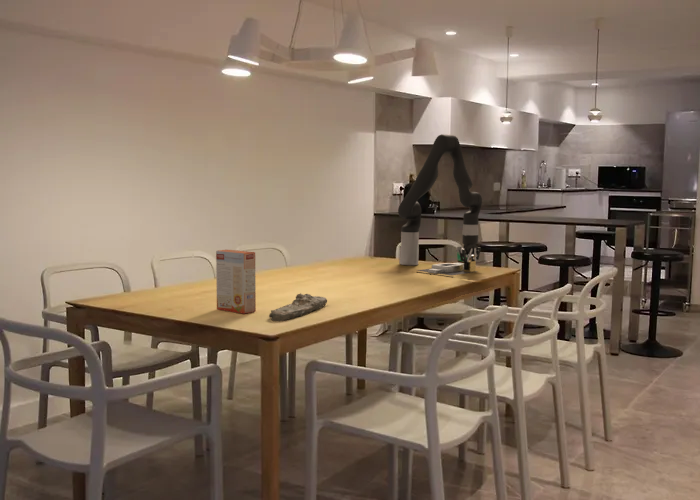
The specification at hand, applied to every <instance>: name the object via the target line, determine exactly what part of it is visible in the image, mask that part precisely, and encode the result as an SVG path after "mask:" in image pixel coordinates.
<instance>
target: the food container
mask: <svg viewBox="0 0 700 500" xmlns="http://www.w3.org/2000/svg"><path fill="white" fill-rule="evenodd" d="M459 249H463V247H462V246H456V248H455V252H456V257H457V259H456V260H457V263H464V262H463V261H461V258H460V252H459ZM467 256H468V255H467ZM463 258H464V257H463ZM466 259H467V257H466ZM469 261H471V258H469Z"/></svg>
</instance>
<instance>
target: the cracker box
mask: <svg viewBox="0 0 700 500" xmlns="http://www.w3.org/2000/svg"><path fill="white" fill-rule="evenodd" d="M215 253H216V254H215V255H216V256H215V263H216V269H215V270H216V271H215V272H216V310H219V311H225V312H232V313H236V314H241V315H245V314H250V313H251V314H252V313H255V312H256V309H257V308H256V300H257V299H256V297H257V296H256V294H257V293H256V288H257V286H256V252H255V251H247V250H246V251H245V250H236V249H219V250H216V252H215Z"/></svg>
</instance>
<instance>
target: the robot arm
mask: <svg viewBox="0 0 700 500" xmlns="http://www.w3.org/2000/svg"><path fill="white" fill-rule="evenodd" d="M445 154H447V155H449V156H450V157H451V159H452V163H453V169H452V170H453V171H452V174H453V175H452V176H453V179H454V182H455V183H456V186H457V189H458V194H459V195H458V196H459V202H460V204H461V205H462V206H463V207H465V208H469V209H468V211H466V212H464V214H463V216H462V217H463V220H462V221H463V224H462V225H463V226H462V235H461V236H462V238H461V239H462V240H461V242H462V244H463V247H462V248H463V249H459V252H460V258H461V261H463V262H464V270H469V258H471V261H476V262H477V261H478V260H479V258H480V254H481V251H482V250H481V247H478V246H477V245H478V244H479V215H480V212H481V208H482V205H483V198H482V195H481V193H480V192H476V191H470V189H471V188H472V187H473V181H472V179H471V177H470V174H469V173H468V170H467V167H466V163H465V160H464V156H463V152H462V147H461V144H460V140H459V138H458V137H457V136H456V135H455V134H445V133H443V134H439V135H437V137H435V140H434V142H433V144H432V147H431V148H430V151H429V154H428V155H427V158H426V159H425V162H424V164H423V165H422V168H421V169H420V171H419V172H418V174H417V176H416V178H415V180H414V182H413V184H412V185H411V187H410V189H409V190H408V192H407V193H406V195H405V197H403V199H402V200H401V202H400V203H399V205H398V209H397V214H398V217H399V218H401V219H403V220H407V222H406V223H405V224H403V225H402V226H401V227H400V231H401V232H400V237H401V238H400V245H399V257H398V258H399V265H403V266H417V265H419V249H420V247H419V245H420V244H419V242H420V227H421V223H422V222H421V221H422V207H421V204H420V203H419V200H420V198H422V197H423V196H425V194H426V193H428V192H429V191H430V190H431V189H432V187H433V186H434V184H435V183H436V181H437V179H438V176H439V163H440V161H441V159H442V157H443V155H445ZM467 255H468V256H467ZM463 257H464V258H463ZM466 257H467V259H466Z"/></svg>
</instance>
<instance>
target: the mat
mask: <svg viewBox="0 0 700 500" xmlns="http://www.w3.org/2000/svg"><path fill="white" fill-rule="evenodd" d="M428 269H429V268H424V269H417V270H416V271H415V272H416V273H418V274H423V275H425V274H426V275H433V276H438V277H439V276H440V277H446V278H452V276H458V275H464V274H473V273H479V271H476V270H475V272H464V270H463V271H459V272H451V273H437V274H436V273H429V272H428ZM430 269H432V267H431V268H430Z"/></svg>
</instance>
